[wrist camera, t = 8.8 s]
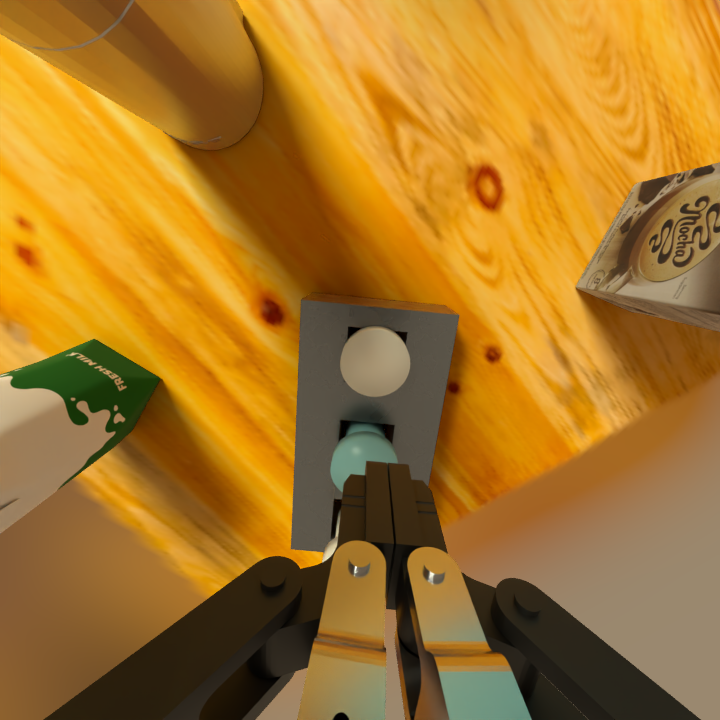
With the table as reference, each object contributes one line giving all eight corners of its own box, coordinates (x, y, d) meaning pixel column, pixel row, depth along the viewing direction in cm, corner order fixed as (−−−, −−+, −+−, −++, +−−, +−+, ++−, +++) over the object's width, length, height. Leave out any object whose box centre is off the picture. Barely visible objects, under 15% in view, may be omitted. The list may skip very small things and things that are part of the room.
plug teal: (339, 403, 31) (332, 437, 25) (396, 409, 31) (402, 444, 25) (335, 453, 33) (328, 496, 27) (389, 458, 33) (394, 502, 27)
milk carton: (56, 396, 34) (-334, 576, 15) (89, 323, 32) (-323, 428, 13) (137, 441, 36) (-130, 658, 17) (174, 375, 33) (-87, 538, 14)
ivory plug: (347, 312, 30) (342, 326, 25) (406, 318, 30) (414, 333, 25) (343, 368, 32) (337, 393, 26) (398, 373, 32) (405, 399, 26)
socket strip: (311, 292, 31) (301, 299, 26) (445, 305, 31) (459, 314, 26) (300, 511, 38) (291, 549, 33) (409, 521, 38) (414, 560, 33)
